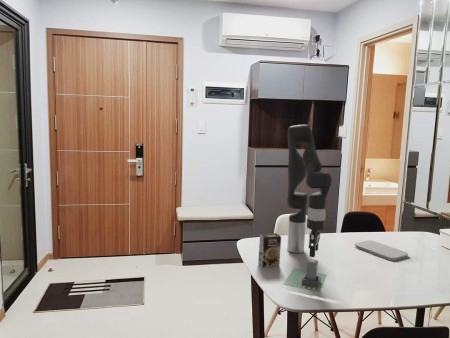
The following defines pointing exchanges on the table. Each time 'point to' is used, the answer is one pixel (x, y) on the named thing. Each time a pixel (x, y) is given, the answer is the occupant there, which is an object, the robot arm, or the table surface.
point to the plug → (312, 270)
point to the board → (304, 280)
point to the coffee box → (269, 250)
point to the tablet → (381, 250)
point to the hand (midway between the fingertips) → (313, 253)
